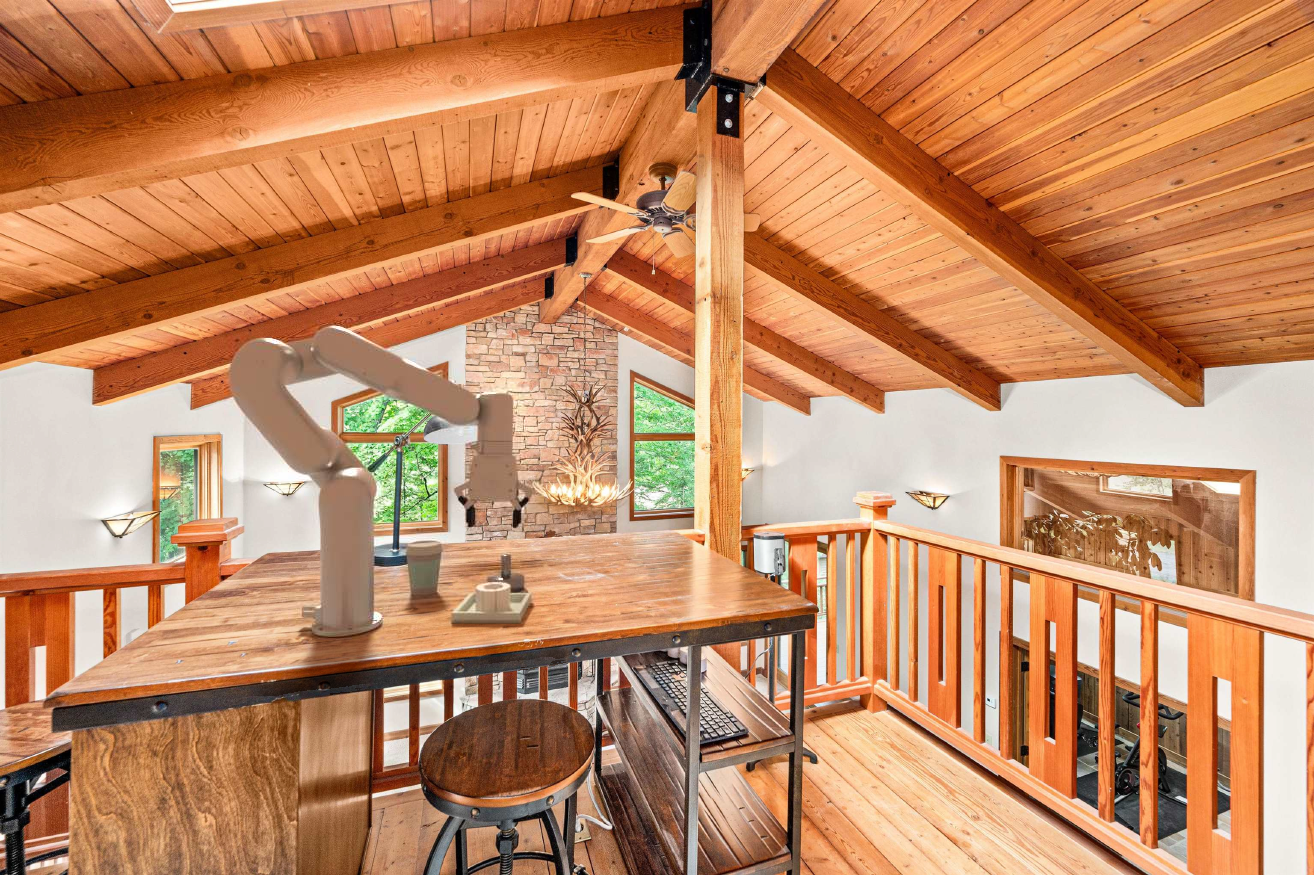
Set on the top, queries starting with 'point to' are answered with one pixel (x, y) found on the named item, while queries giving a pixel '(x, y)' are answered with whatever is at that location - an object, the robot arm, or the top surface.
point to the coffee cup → (423, 566)
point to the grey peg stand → (508, 575)
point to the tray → (469, 614)
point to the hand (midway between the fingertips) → (493, 526)
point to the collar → (493, 597)
